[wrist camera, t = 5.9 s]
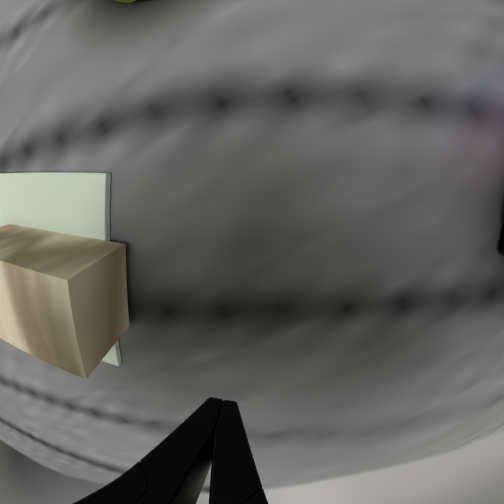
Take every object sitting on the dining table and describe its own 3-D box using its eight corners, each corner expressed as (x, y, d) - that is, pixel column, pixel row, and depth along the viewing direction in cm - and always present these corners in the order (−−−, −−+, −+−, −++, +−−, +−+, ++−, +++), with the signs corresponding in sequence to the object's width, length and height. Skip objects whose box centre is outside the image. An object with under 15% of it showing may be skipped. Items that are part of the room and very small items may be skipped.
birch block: (67, 280, 10) (-45, 244, 10) (86, 378, 11) (-28, 321, 12) (125, 243, 14) (8, 224, 15) (129, 326, 16) (17, 291, 17)
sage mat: (110, 172, 14) (105, 173, 13) (121, 361, 18) (118, 366, 17) (-11, 173, 15) (-16, 174, 14) (8, 319, 18) (4, 321, 18)
